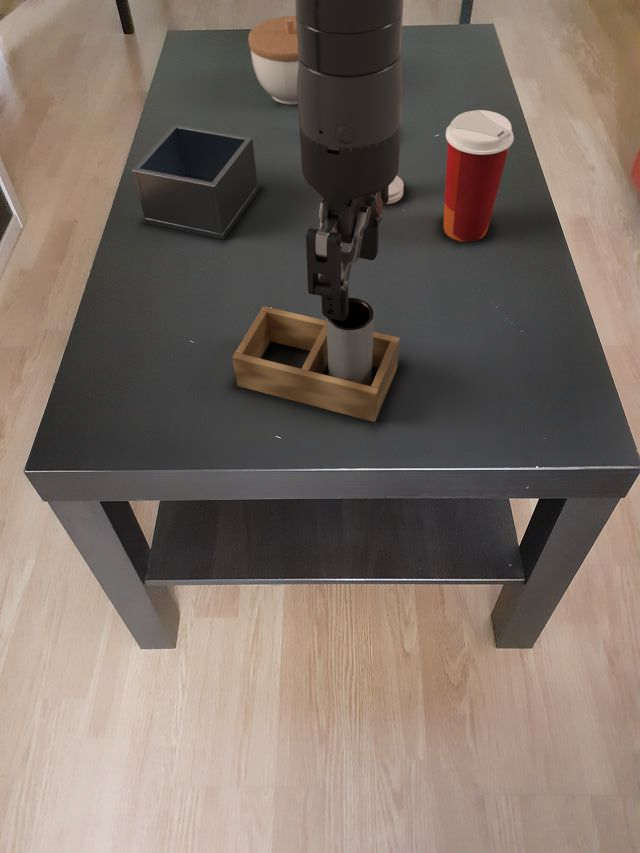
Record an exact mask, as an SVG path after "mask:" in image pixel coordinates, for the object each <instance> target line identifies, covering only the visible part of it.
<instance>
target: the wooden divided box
mask: <svg viewBox="0 0 640 853" xmlns="http://www.w3.org/2000/svg"><path fill="white" fill-rule="evenodd" d="M400 340H401V339H400V337H398V336H395V335H390V334H385V333H381V332H378V331H377V332H376V331H373V356H372V368H373V367H374V368H377V371H376V374H375V376H374V378H373V380H372V383H371V386H367V385H363V384H359V383H355V382H351V381H347V380H343V379H339V378H335V377H331V376H328V374H324V373H325V372H326V369H327V368H328V349H327V322H326V319H321V318H317V317H313V316H309V315H304V314H300V313H295V312H291V311H286V310H282V309H278V308H274V307H269V306H266V305H263V306H262V307H261V309H260V310H259V312H258V313H257V316H256V317H255V318H254V320H253V322H252V324H251V325H250V327H249V328H248V330H247V332H246V333H245V334H244V337H243V339H242V340H241V342H240V344H239V345H238V347H237V348H236V350H235V352H234V354H233V355H232V358H231V359H232V364H233V368H234V374H235V379H236V386H237V387H240V388H243V389H247V390H252V391H255V392H259V393H263V394H266V395H270V396H274V397H278V398H281V399H285V400H289V401H293V402H297V403H300V404H305V405H308V406H311V407H315V408H318V409H319V408H320V409H322V410H326V411H331V412H335V413H338V414H343V415H346V416H350V417H354V418H358V419H361V420H365V421H368V422H372V423H376V421H377V418H378V416H379V414H380V411H381V409H382V405H383V403H384V401H385V399H386V396H387V394H388V391H389V389H390V388H391V387H390V386H391V384H392V382H393V379H394V377H395V375H396V372H397V369H398V366H399V352H400ZM270 343H275V344H279V345H284V346H288V347H291V348H292V347H293V348H296V349H300V350H305V351H308V352H309V353H308V355H307V357H306V359H305V361H304V363H303V365H302V367H301V368H299V367H296V366H293V365H288V364H284V363H280V362H275V361H271V360H267V359H264V358H263V355H264V353H265V352H266V350H267V349H268V347H269V345H270Z"/></svg>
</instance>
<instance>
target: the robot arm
mask: <svg viewBox="0 0 640 853" xmlns="http://www.w3.org/2000/svg"><path fill="white" fill-rule="evenodd" d="M294 1H295V4H294V5H295V16H296V26H297V42H298V54H299V55H298V77H297V98H298V104H297V111H298V127H299V144H300V159H301V172H302V175H303V178H304V180H305V181H306V183H307V184H308V185H309V186H310V187H311V188H312V189H314V190H315V192H317V193H318V194H319V196H320V197H322V198H321V201H320V205H319V210H318V219H319V228H314V227H309V228H308V229H307V232H306V234H305V243H306V245H305V248H306V273H307V274H306V275H307V292H308V294H309V295H316V296H320V297H321V313H322V316H324V317H325V318H326V317H327V318H331V319H336V320H340V321H344V320H345V319H346V317H347V315H348V313H349V310H348V298H349V283H350V275H351V269H352V265H353V264H354V263H357V262H358V261H359V259H364V260H368V261H374V260H376V258H377V256H378V254H379V228H380V227H379V226H380V224H381V222H382V221H383V217H384V215H383V207H386V206H387V205H388V204H387V202H388V200H389V197H388V191H389V185H390V184H391V183H392V182H393V180H394V179H395V177H396V175H397V176H398V172H399V169H400V168H399V167H400V166H399V165H400V148H401V129H402V108H403V91H404V90H403V89H404V88H403V87H404V80H403V69H402V33H403V14H404V0H294ZM344 244H348V245H349V244H351V245H350V249H349V250H348V251H345V250H343V249H344Z"/></svg>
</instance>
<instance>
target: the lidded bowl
mask: <svg viewBox="0 0 640 853" xmlns="http://www.w3.org/2000/svg"><path fill="white" fill-rule="evenodd" d="M248 33H249V34H248V36H247V38H248V47H249V50H250V57H251V64H252V67H253V68H252V69H253V72H254V73H255V74H254V75H255V76H256V79H257V81H258V84H259V85H260V86H261V87H262V89H263V90H264V91H265V92H266V93H268V94H269V95H270V96H271V98H272V99H273V100H274V101H275V102H277V103H280V104H284V105H298V98H297V77H298V55H299V54H298V42H297V26H296V15H289V16H279V17H275V18H274V17H273V18H271V19H267V20H264V21H262V22H260V23H258V24H257V25H255V26H254V27H253V28H252V29H251V30H250V31H249V32H248Z"/></svg>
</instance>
